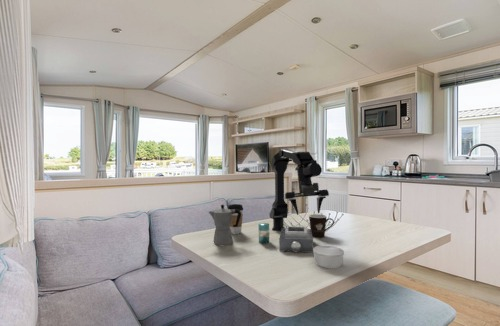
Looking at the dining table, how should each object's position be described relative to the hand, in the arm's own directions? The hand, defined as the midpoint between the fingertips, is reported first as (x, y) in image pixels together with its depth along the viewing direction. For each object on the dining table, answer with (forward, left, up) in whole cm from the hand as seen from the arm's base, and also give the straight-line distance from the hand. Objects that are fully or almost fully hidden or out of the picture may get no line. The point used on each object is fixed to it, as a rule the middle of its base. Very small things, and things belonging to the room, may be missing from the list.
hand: (308, 214), depth 119 cm
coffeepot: (-1, -38, -15) cm, 41 cm away
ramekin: (+18, +7, -15) cm, 24 cm away
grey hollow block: (0, -5, -15) cm, 16 cm away
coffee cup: (-18, -37, -15) cm, 44 cm away
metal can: (-4, -20, -15) cm, 25 cm away
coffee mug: (-17, +7, -15) cm, 24 cm away
